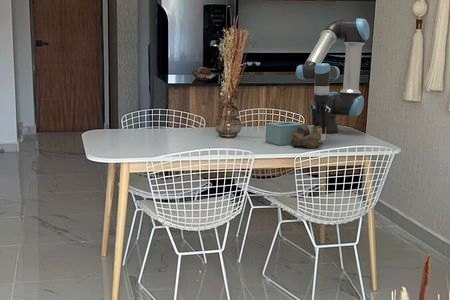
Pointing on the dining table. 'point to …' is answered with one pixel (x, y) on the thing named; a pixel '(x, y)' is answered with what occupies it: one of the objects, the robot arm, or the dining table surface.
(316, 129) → the cream small block
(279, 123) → the coin box
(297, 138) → the decorative stone
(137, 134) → the dining table surface
